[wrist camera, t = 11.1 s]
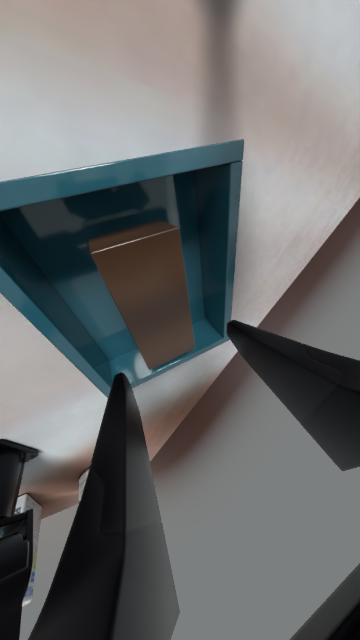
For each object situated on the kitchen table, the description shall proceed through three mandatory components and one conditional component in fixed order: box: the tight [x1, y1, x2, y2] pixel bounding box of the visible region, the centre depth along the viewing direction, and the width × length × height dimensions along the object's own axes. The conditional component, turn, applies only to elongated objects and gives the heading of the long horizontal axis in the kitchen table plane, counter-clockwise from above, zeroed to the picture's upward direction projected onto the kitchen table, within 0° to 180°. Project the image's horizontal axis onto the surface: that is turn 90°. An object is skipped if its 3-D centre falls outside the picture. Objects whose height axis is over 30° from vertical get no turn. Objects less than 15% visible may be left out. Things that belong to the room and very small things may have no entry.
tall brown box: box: [88, 220, 195, 370], centre depth 13 cm, size 10×4×5 cm, turn 9°
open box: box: [0, 139, 244, 397], centre depth 14 cm, size 16×14×5 cm
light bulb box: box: [14, 494, 42, 607], centre depth 25 cm, size 11×7×11 cm, turn 168°
